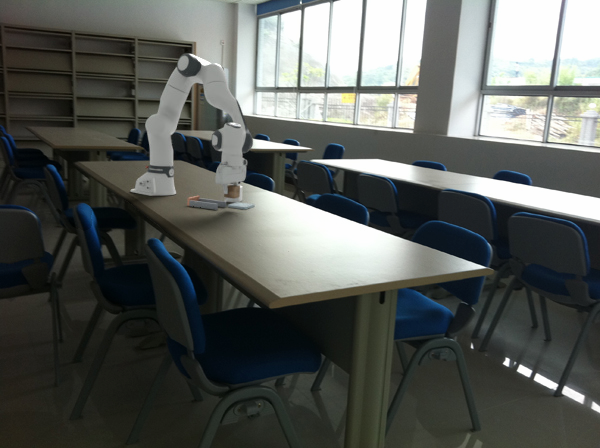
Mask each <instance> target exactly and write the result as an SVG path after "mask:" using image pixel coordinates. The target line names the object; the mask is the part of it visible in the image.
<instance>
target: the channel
mask: <svg viewBox="0 0 600 448" xmlns="http://www.w3.org/2000/svg"><path fill="white" fill-rule="evenodd" d="M227 203H228V202H226V201H225V200H219V199H218V200H217V199H212V198H211V199H210V198H203V197H202V198H201V197H200V195H195V196H190V197H187V206H188V207H193V206H194V207H195V208H200V207H201V209H209V210H216V211H217V210H218V209H219V208H227V205H228V204H227ZM218 211H219V210H218Z"/></svg>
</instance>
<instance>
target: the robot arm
mask: <svg viewBox="0 0 600 448" xmlns="http://www.w3.org/2000/svg"><path fill="white" fill-rule="evenodd" d="M166 82H167V83H166V84H165V87H164V89H163V91H162V92H161V93H162V94H161V96H160V99H159V105H158V110H157V112H156V113H155V114H151V115H150V116H149V117H147V119H146V121H145V130H146V133H147V134H146V135H147V140H148V144H149V164H148V165H145V168H146V169H147V170H146V172H145V173H144V174H142V175H141V176H140V177H138V178H137V179H136V180H135V188H132V189H130V193H135V194H140V195H144V196H150V197H151V196H173V195H176V194H177V191H176V188H175V180H174V175H175V165H174V149H173V145H172V143H173V142H172V135H173V134H174V133H175V132H176V130H177V126H178V123H179V120H180V117H181V113H182V111H183V108H184V105H185V103H186V101H187V99H188V96H189V94H190V93H191V92H190V91H191V88H192V87H193V86H194V84H198V85H199V86H203V93H204V97H205V100H206V102H207V103H208V104H209V105H211V106H213V107H214V108H216V109H219V110H220V111H224V112H225V113H227V114H228V115H229V116H230V117H231V119H232V122H225V124H224V125H223V127H221V128H220V129H216V130H215V131H213V133H212V135H211V146H212V147H213V148H214V150H215V151H218V152H221V162H220V163H219V165H218V166H217V169H216V172H215V179H214V181H215V184H216V185H221V186H222V189H223V195H224V194H228V193H229V190H228V187H227V186H228V184H230V183H233V185H236V186H238V182H240V181H241V182H244V181H245V179H246V176H247V166H248V160H247V159H245V158H244V157H243V154H246V153H248V152H249V151H250V150H251V149H252V147H253V145H254V139H253V136H252V133H251V132H250V130H249V128H248V125H247V122H246V120H245V119H246V118H245V116H244V113H243V110H242V108H241V105H240V103H239V100H238V99H237V98H235V96H234V95H233V94H232V93H231V90H230V88H229V84H228V78H227V76H226V73H225V71H224V68H223V67H222V65H220V64H218V63H211V62H209V61H208V60H206V59H205V58H201V57H199V56H197V55H195V54H193V53H183V54H181V56H179V58H178V59H177V63H176V66H175V69H174V70H173V71H172V73H171V75H170V77H169V78H168V80H167V81H166Z"/></svg>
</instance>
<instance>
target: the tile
mask: <svg viewBox="0 0 600 448" xmlns="http://www.w3.org/2000/svg"><path fill="white" fill-rule="evenodd" d="M254 207H255V204H254V203H248V202H247V203H246V202H236V203H235V202H232V203H230V204H227V208H233V209H240V210H248V209H252V208H254Z"/></svg>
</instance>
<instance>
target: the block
mask: <svg viewBox="0 0 600 448" xmlns="http://www.w3.org/2000/svg"><path fill="white" fill-rule="evenodd" d="M240 186H241V185H240ZM240 186H236V185H228V186H227V187H228V190H229V193H228V194H224V193H223V198H225V197H226V198H233V199H235V198H239V196H240Z"/></svg>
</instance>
